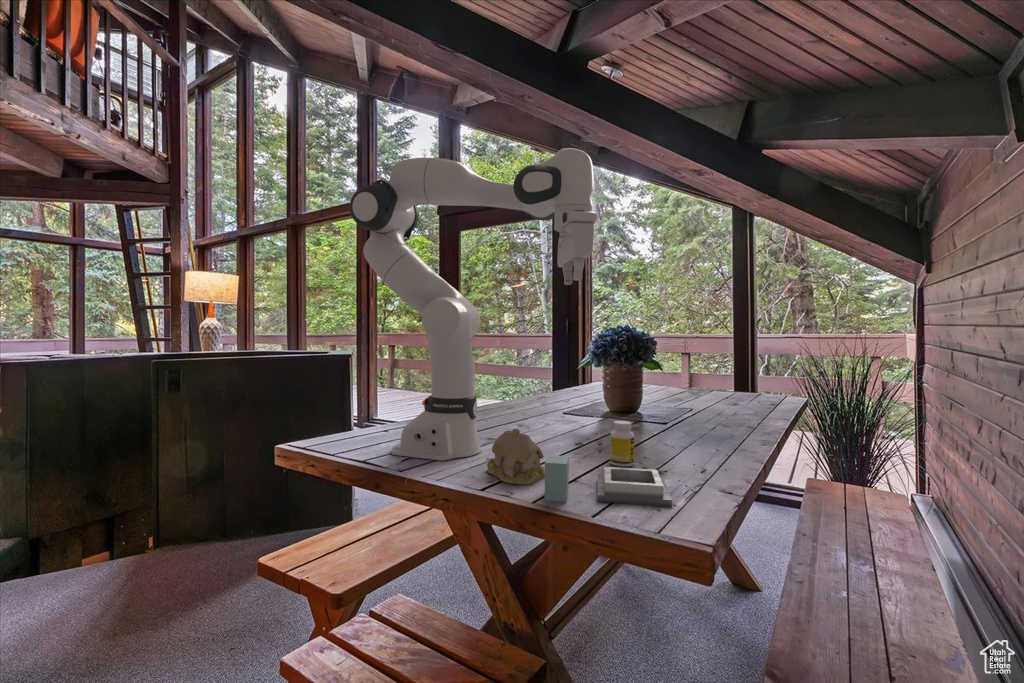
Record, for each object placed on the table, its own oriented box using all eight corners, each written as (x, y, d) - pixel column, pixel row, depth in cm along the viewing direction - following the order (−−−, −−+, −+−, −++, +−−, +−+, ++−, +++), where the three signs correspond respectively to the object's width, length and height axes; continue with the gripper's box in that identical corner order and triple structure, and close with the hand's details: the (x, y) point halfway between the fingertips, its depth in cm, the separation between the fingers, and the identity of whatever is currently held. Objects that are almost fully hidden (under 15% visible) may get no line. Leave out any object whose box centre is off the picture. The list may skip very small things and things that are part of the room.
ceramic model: (556, 477, 103) (557, 430, 102) (519, 489, 95) (519, 438, 95) (511, 463, 113) (511, 421, 113) (474, 473, 105) (474, 427, 105)
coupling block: (544, 500, 88) (544, 462, 88) (547, 490, 94) (548, 455, 93) (566, 502, 87) (566, 463, 87) (568, 492, 93) (568, 456, 93)
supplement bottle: (634, 467, 109) (635, 425, 109) (610, 466, 111) (610, 423, 110) (633, 461, 115) (633, 420, 115) (610, 460, 116) (610, 419, 116)
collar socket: (597, 501, 88) (597, 484, 88) (597, 479, 100) (597, 464, 100) (671, 506, 85) (672, 488, 85) (662, 483, 98) (662, 468, 98)
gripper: (551, 230, 121) (551, 286, 121) (569, 210, 100) (568, 277, 101) (576, 231, 121) (575, 286, 122) (599, 211, 101) (598, 278, 101)
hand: (572, 282), depth 111 cm, fingers open, 8 cm apart
